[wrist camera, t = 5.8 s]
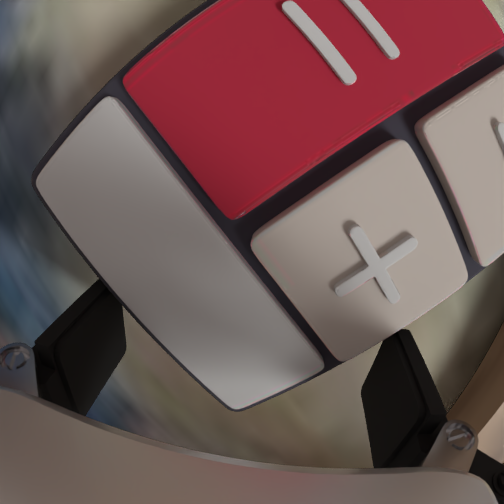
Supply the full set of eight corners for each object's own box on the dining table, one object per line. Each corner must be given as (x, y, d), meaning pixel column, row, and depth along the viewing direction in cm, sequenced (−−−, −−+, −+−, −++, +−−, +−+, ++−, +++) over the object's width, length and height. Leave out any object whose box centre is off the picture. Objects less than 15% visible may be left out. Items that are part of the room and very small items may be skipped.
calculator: (578, 200, 6) (231, 432, 10) (512, 177, 10) (242, 359, 14) (411, -96, 3) (9, 184, 7) (376, -42, 8) (80, 165, 11)
